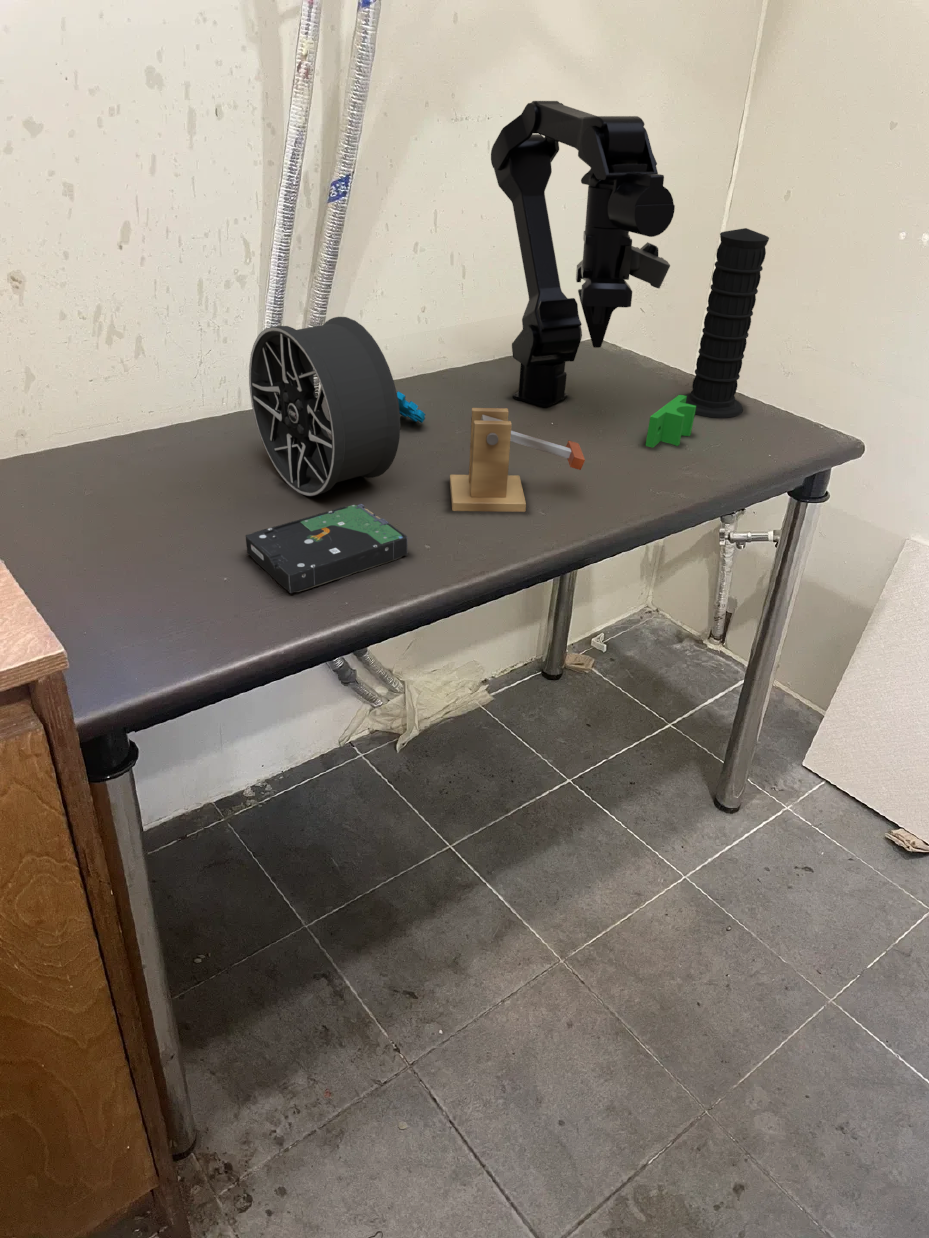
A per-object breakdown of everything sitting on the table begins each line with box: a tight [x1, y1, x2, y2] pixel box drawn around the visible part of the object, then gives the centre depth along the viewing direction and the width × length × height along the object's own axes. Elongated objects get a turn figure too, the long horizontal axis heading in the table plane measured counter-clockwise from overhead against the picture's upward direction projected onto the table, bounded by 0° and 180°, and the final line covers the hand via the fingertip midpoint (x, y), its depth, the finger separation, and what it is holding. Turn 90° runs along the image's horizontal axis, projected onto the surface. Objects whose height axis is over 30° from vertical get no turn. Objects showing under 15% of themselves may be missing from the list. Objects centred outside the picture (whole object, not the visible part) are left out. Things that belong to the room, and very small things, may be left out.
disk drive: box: [245, 503, 409, 594], centre depth 101 cm, size 10×3×15 cm
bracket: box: [449, 407, 527, 513], centre depth 112 cm, size 9×8×11 cm
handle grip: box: [683, 227, 770, 419], centre depth 137 cm, size 10×26×10 cm
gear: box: [396, 390, 426, 424], centre depth 131 cm, size 11×6×10 cm
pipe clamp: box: [645, 394, 696, 449], centre depth 132 cm, size 11×4×5 cm, turn 147°
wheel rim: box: [248, 316, 401, 497], centre depth 111 cm, size 20×9×20 cm, turn 39°
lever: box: [480, 415, 586, 471], centre depth 111 cm, size 13×5×2 cm, turn 93°
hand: (596, 347), depth 127 cm, fingers closed
